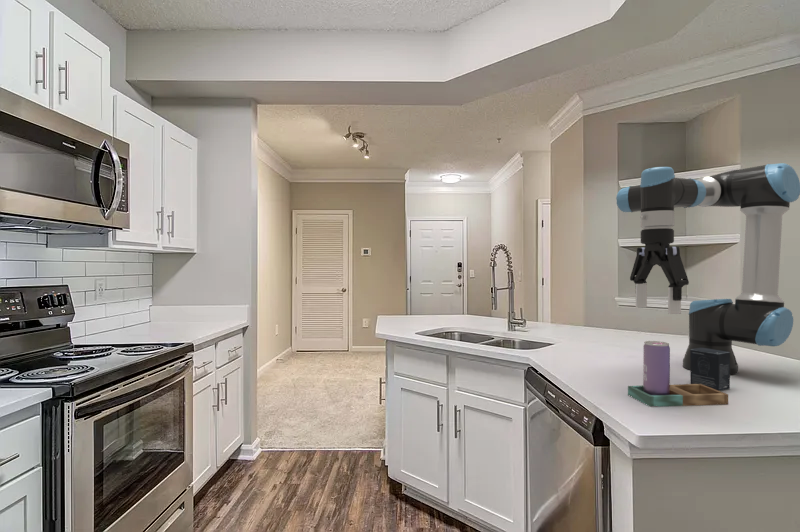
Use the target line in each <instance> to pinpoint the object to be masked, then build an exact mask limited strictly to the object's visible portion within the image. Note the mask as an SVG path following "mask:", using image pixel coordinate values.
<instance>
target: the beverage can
mask: <svg viewBox="0 0 800 532" xmlns="http://www.w3.org/2000/svg"><path fill="white" fill-rule="evenodd" d="M642 359H643V365H642V366H643V370H642V371H643V373H642V375H643V376H642V377H643V378H642V379H643V380H642V381H643V382H642V383H643V392H645V393H647V394H649V395H670V385H671V380H670V379H671V378H670V377H671V373H670V372H671V367H670V365H671V347H670V343H668V342H666V341H660V340H659V341H658V340H646V341H644V344H643V358H642Z"/></svg>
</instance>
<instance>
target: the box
mask: <svg viewBox="0 0 800 532" xmlns="http://www.w3.org/2000/svg"><path fill="white" fill-rule="evenodd" d="M689 371H690V372H689V373H690V377H689V378H690V383H689V384H702V385H705V386H707V387H710V388H713V389H715V390H718V391H721V392H723V391H726V390H730V388H731V385H730V384H731V377H730V376H731V374H730V352H726V351H720V350H714V349H707V348H695V349H691V350H690V370H689Z"/></svg>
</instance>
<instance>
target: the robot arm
mask: <svg viewBox="0 0 800 532" xmlns="http://www.w3.org/2000/svg"><path fill="white" fill-rule="evenodd" d="M799 198H800V178H799V175H798V174H797V171H796V170H795V169H794V168H793V167H792V166H791V165H790V164H787V163H783V162H781V163H767V164H764V165H758V166H752V167H747V168H740V169H734V170H733V169H732V170H729V171H725V172H720V173H717V174H713V175H708V176H701V177H699V178H697V179H693V178H684V177H676V175H675V171H674V169H673V168H672V167H671V166H655V167H650V168H646V169H644V170H642V172H641V175H640V184H638V185H633V186H632V185H630V186H627V187H623V188H621V189H619V190H618V192H617V194H616V198H615V199H616V206H617V209H618V210H620V211H621V212H623V213H635V212H640V227H641V228H642V229H641V230H640V243H641V244H642V245H645V246H644V247H637V248H636V256H635V260H634V263H633V267H632V270H631V274H630V277H629V280H630V281H632V282H633V283H634V284H635V290H634V291H635V308H636V309H637V308H638V309H641V308H642V309H643V308H648V305H647V304H648V300H647V299H648V297H647V296H648V294H647V293H648V292H647V291H648V284H647V279H648V277H649V275H650V273H651V271H652V269H653V268H654V266H657V265H658V266H659V267H660V268H661V270H662V272H663V274H664V276H665V277H666V280H667V281H668V283H669V285H668V287H667V288H668V291H667V295H668V297H667V306H668V307H667V309H668V310H667V312H668V313H667V314H668V315H681V314H682V309H681V308H682V304H681V303H682V295H683V291H682V290H683V289H682V288H683V287H684V286H688V285H689V284H690V281H689V278H688V275H687V272H686V269H685V266H684V262H683V260H682V258H681V251H680V250H681V249H680V247H679V246H670V244H673V243H674V242H675V230H674V228H672V227H674V226H675V208H684V209H685V208H694V207H697V206H699V207H702V208H703V207H724V208H725V207H726V208H730V207H731V208H732V207H733V208H734V207H735V208H736V207H740V210H739V211H740V212H741V213H742V214H744V215H745V230H744V232H745V233H744V250H743V267H742V285H741V294H739V295H738V296H736V297H735V301H734V302H733V300H732V299H731V298H718V299H717V298H716V299H715V298H714V299H697V300H696V299H695V300H693V301H692V302H690V303H689V309H688V329H689V330H688V339H689V341H688V346H687V349H686V351H685V354H684V357H683V359H682V367H683V368H685V369H687V370H689V371H690V350H691V349H695V348H707V349H714V350H720V351H726V352H730V375H736V374H738V373H739V364H738V361H737V359H736V356H735V353H734V350H733V347H732V346H733V345H732V344H733V343H732V342H738V343H743V344H744V343H746V344H752V345H757V346H759V347H761V346H766V347H778V346H781V345H783V344H784V343H785V342H786V341H787V340H788V338H789V337H790V335H791V333H792V330H793V325H794V316H793V312H792V311H791V310H790V309H789V308H787V307H785V301H784V299H782V298H781V297H780V295H779V280H780V266H781V264H780V262H781V261H780V260H781V248H782V247H781V245H782V244H781V243H782V231H783V230H782V229H783V227H782V226H783V215H784V214H785V213H786V212H788V211H789V210H790V204H791V203H794V202H796V201H797V200H798V199H799Z"/></svg>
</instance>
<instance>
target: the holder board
mask: <svg viewBox="0 0 800 532" xmlns="http://www.w3.org/2000/svg"><path fill="white" fill-rule="evenodd" d="M629 395H630V396H629ZM627 396H629V397H631V396H632V397H633V398H632V397H631V398H632V399H634V398H635V400H636V399H637V401H638V400H639V401H638V402H640V401H641V402H640V403H642V402H643V403H642V404H644V403H645V404H644V405H646V404H647V405H649V406H658V407H681V406H682V407H684V406H685V407H687V406H715V405H716V406H718V405H729V394H728V393H725V392H723V391H718V390H715V389H713V388H710V387H707V386H705V385H702V384H690V383H686V384H685V383H684V384H681V383H679V384H670V395H649V394H647V393H645V392H643V385H628V386H627ZM647 405H646V406H647ZM649 406H648V407H649Z"/></svg>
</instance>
